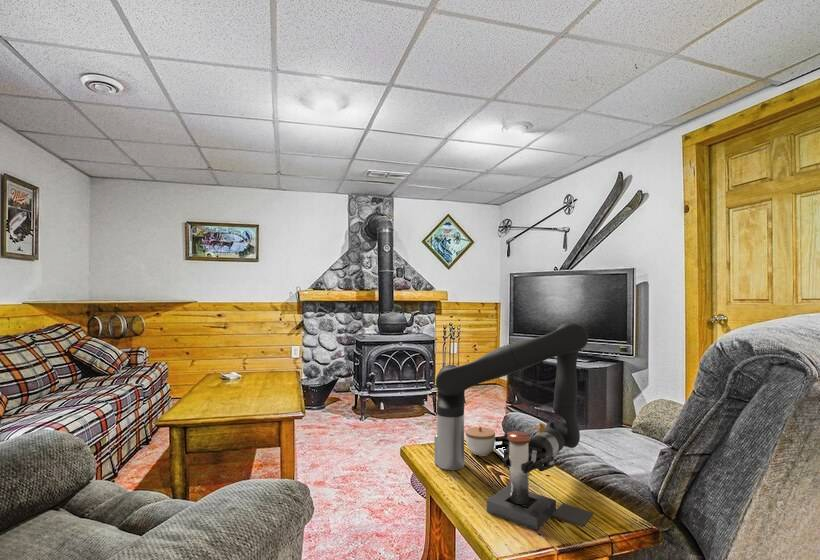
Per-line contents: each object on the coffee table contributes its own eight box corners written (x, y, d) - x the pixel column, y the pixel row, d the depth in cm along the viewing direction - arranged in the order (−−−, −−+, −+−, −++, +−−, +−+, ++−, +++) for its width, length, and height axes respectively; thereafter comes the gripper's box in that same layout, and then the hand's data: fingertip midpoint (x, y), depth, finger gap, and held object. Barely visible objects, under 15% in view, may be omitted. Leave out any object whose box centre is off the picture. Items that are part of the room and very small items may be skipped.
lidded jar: (475, 460, 148) (475, 433, 149) (460, 450, 158) (460, 424, 159) (501, 455, 153) (501, 429, 153) (484, 446, 163) (484, 421, 163)
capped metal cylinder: (503, 500, 114) (503, 435, 114) (513, 491, 119) (513, 429, 119) (524, 507, 110) (524, 440, 111) (534, 498, 115) (534, 434, 115)
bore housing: (486, 511, 114) (486, 500, 114) (508, 495, 123) (508, 484, 123) (536, 530, 105) (536, 518, 105) (555, 511, 114) (555, 500, 114)
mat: (551, 516, 112) (551, 514, 112) (562, 504, 118) (562, 502, 118) (582, 526, 107) (582, 525, 107) (593, 514, 113) (593, 512, 113)
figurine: (524, 455, 153) (524, 421, 154) (535, 451, 157) (535, 418, 157) (542, 462, 146) (542, 427, 147) (554, 459, 150) (554, 424, 150)
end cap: (527, 460, 149) (527, 441, 149) (509, 463, 146) (509, 443, 146) (511, 450, 158) (511, 432, 158) (494, 453, 156) (494, 434, 156)
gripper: (518, 430, 130) (490, 445, 117) (565, 441, 121) (540, 459, 108) (518, 455, 130) (490, 473, 117) (565, 467, 121) (540, 489, 108)
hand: (514, 466), depth 113 cm, fingers closed on capped metal cylinder, 5 cm apart
